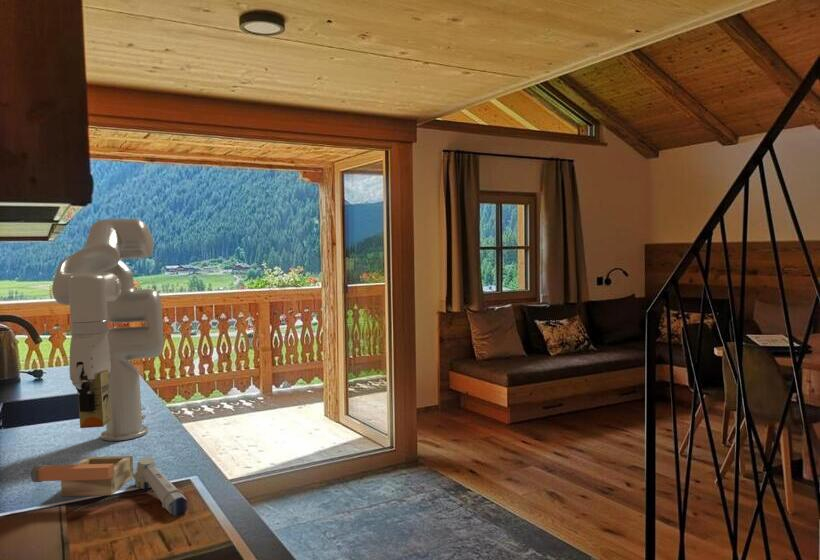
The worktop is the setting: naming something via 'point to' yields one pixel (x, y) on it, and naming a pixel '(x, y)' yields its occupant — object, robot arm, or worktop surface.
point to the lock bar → (72, 472)
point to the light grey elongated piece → (160, 486)
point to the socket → (101, 486)
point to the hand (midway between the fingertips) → (94, 407)
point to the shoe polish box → (98, 403)
